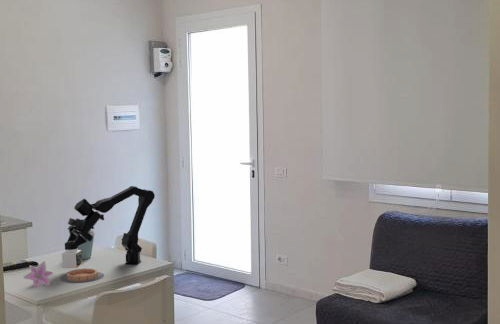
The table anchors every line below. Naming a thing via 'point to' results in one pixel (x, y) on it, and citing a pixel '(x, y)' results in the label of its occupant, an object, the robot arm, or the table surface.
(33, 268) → the lily
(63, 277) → the rubber mat
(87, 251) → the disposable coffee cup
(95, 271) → the terracotta bowl
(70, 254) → the medicine bottle
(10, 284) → the table surface
